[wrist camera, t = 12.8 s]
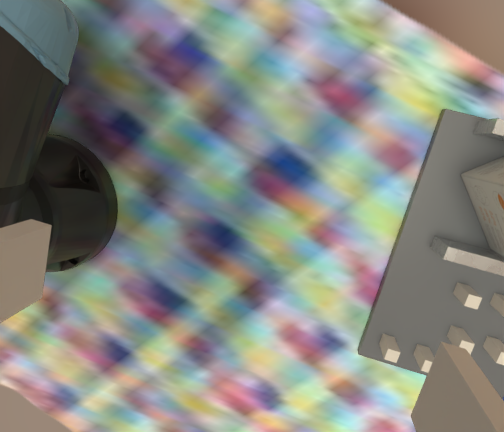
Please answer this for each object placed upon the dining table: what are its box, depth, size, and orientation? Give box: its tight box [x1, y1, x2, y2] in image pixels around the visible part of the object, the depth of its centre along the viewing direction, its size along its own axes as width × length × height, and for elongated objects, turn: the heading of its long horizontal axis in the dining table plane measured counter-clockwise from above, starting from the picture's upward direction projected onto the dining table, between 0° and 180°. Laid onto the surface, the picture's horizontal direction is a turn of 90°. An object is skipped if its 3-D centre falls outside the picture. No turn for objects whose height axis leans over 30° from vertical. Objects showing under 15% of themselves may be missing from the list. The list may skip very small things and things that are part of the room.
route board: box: [358, 109, 504, 398], centre depth 37 cm, size 15×26×4 cm, turn 166°
